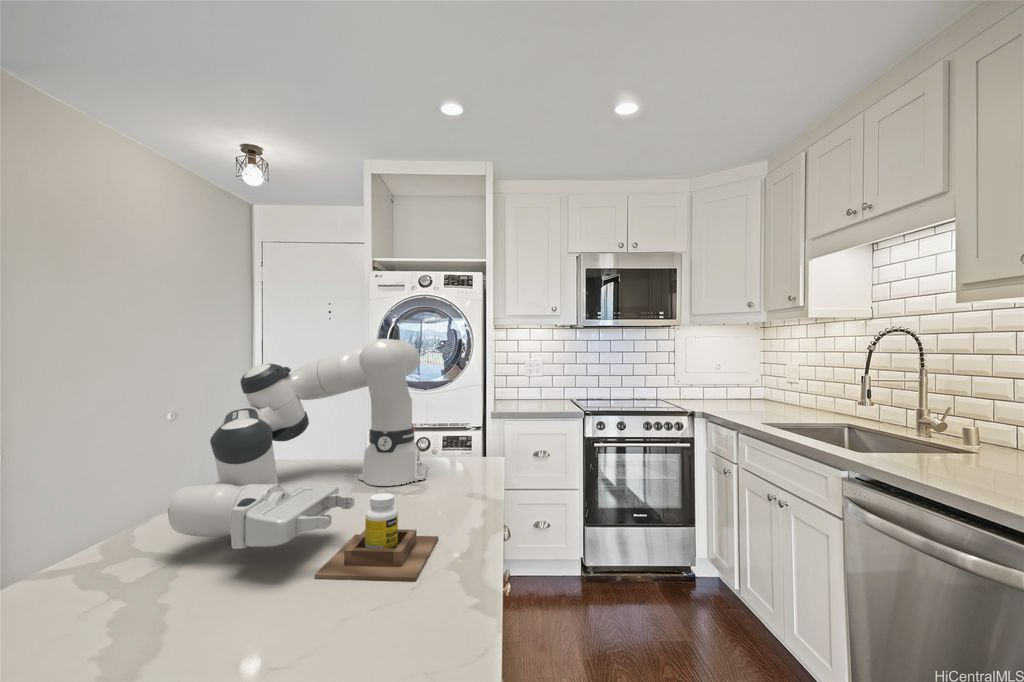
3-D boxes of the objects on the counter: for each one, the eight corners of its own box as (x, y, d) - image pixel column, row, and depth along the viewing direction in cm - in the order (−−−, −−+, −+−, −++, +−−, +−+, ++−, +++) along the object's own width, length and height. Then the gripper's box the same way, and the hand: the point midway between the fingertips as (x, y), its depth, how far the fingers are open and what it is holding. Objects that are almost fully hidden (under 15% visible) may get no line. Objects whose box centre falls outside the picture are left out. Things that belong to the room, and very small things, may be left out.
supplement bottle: (388, 562, 76) (389, 502, 77) (358, 559, 77) (359, 500, 78) (403, 548, 82) (403, 492, 82) (374, 546, 83) (375, 490, 83)
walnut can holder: (355, 537, 88) (355, 521, 88) (438, 539, 87) (438, 523, 87) (314, 578, 72) (314, 559, 72) (415, 581, 71) (415, 561, 71)
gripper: (295, 508, 91) (364, 509, 90) (225, 553, 70) (313, 555, 70) (295, 476, 91) (364, 477, 90) (225, 512, 71) (314, 513, 70)
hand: (342, 511), depth 80 cm, fingers open, 8 cm apart
